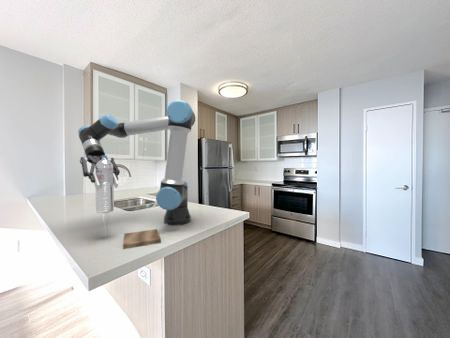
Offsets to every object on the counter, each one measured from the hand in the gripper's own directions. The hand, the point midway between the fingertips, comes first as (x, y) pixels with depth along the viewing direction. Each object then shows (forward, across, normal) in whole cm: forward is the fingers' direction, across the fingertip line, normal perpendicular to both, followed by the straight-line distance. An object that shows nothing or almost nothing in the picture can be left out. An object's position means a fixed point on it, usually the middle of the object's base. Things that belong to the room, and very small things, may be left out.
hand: (107, 186), depth 83 cm
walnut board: (+24, -10, -9) cm, 27 cm away
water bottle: (+6, 0, -11) cm, 12 cm away
